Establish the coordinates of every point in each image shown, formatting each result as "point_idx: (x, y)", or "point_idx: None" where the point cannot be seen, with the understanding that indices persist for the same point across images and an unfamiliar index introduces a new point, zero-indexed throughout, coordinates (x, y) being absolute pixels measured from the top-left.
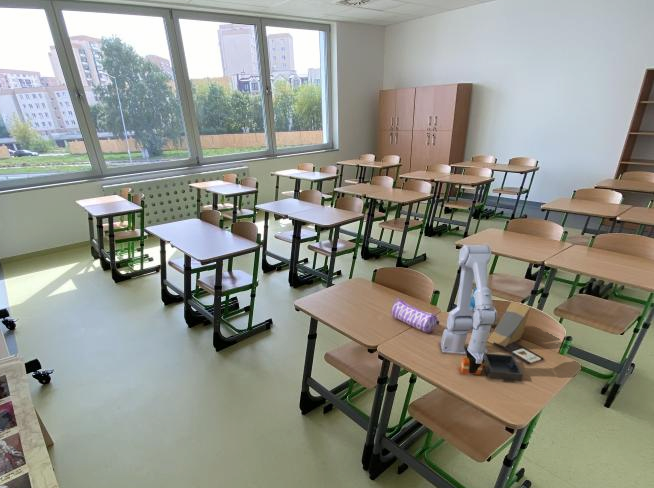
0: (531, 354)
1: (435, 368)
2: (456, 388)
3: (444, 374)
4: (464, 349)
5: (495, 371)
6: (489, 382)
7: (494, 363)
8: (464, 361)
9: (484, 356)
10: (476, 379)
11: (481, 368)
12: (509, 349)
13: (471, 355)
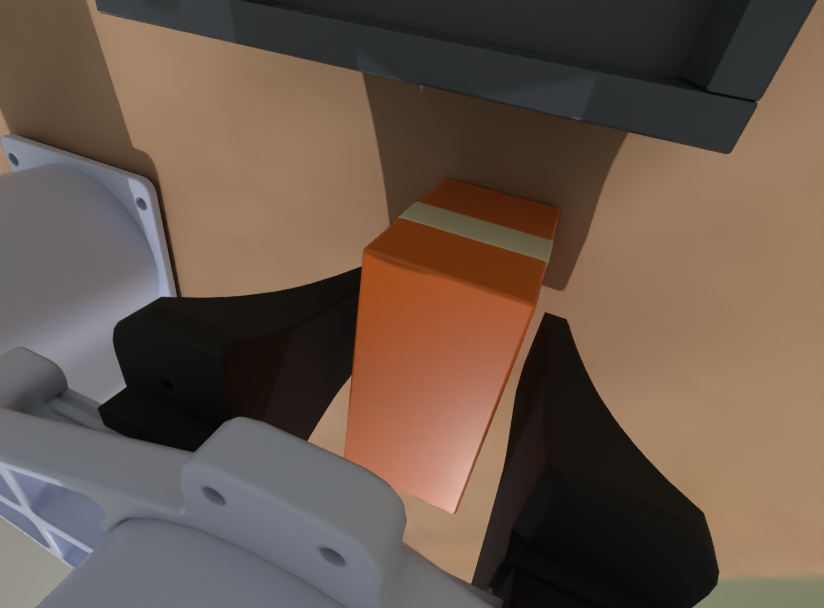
0: None
1: (405, 503)
2: (741, 551)
3: (490, 501)
4: (79, 162)
5: (768, 24)
6: (790, 147)
7: None
8: (438, 506)
9: (184, 29)
10: (640, 297)
11: (545, 265)
12: None
13: (307, 400)
